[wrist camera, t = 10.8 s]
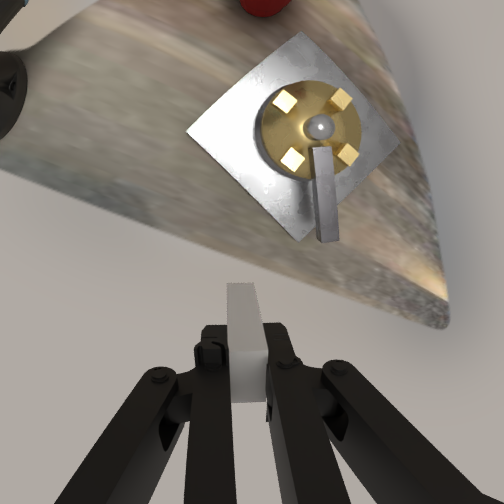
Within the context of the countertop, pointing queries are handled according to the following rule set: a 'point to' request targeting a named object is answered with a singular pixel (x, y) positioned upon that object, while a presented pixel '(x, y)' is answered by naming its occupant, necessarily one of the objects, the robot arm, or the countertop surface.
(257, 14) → the plastic cup
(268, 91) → the flange plate
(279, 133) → the brass dial with lever
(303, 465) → the robot arm
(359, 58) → the countertop surface
